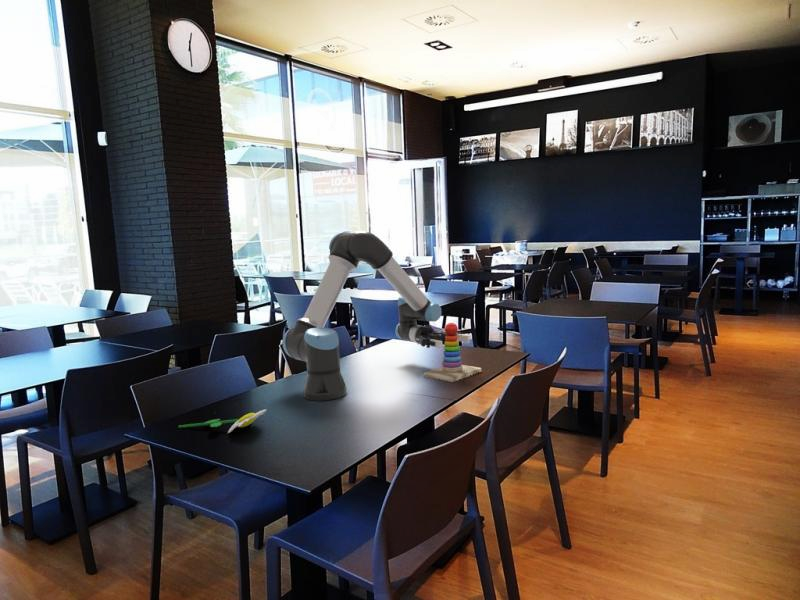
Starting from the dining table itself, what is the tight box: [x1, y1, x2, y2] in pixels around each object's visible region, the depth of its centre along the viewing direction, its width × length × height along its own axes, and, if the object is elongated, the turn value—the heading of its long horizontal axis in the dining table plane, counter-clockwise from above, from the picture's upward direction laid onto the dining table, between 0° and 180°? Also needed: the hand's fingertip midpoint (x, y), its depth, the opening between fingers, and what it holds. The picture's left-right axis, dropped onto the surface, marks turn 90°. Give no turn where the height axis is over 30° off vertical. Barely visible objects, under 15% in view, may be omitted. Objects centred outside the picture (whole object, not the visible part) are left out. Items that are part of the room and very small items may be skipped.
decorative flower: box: [178, 408, 268, 434], centre depth 167 cm, size 13×5×30 cm
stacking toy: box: [441, 322, 463, 372], centre depth 214 cm, size 8×8×19 cm
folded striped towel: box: [423, 364, 482, 383], centre depth 216 cm, size 18×14×2 cm
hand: (455, 342), depth 212 cm, fingers open, 13 cm apart
